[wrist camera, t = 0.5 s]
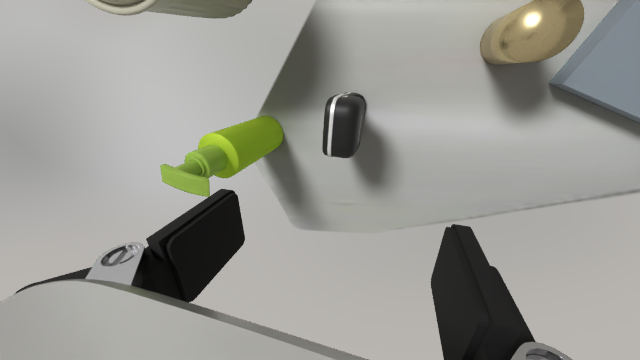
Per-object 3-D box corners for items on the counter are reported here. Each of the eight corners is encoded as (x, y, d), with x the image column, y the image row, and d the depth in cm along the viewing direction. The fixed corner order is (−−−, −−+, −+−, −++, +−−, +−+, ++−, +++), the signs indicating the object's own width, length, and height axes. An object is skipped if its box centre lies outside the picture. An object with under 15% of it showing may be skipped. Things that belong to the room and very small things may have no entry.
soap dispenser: (286, 154, 41) (206, 215, 23) (251, 144, 42) (151, 194, 24) (291, 122, 38) (204, 164, 21) (254, 112, 39) (142, 142, 22)
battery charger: (364, 139, 36) (352, 165, 26) (340, 136, 37) (320, 160, 27) (371, 92, 33) (361, 100, 23) (345, 90, 34) (324, 97, 24)
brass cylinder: (500, 6, 25) (541, -19, 18) (544, 24, 25) (601, 6, 18) (470, 54, 28) (495, 48, 21) (509, 71, 28) (548, 70, 21)
